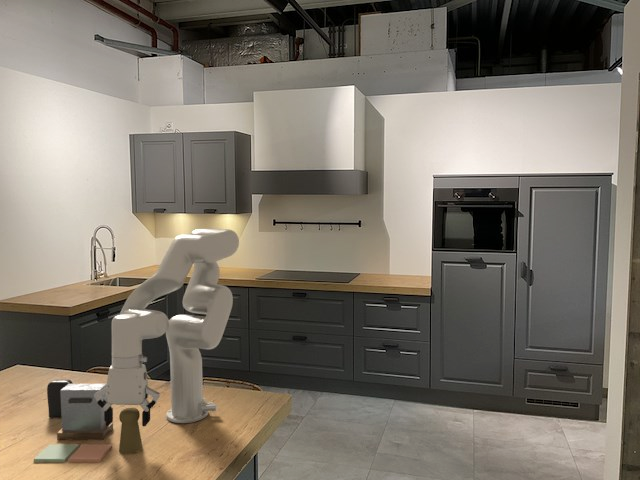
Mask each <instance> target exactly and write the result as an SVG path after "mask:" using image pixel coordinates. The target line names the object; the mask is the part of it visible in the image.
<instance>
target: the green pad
mask: <svg viewBox="0 0 640 480" xmlns="http://www.w3.org/2000/svg"><path fill="white" fill-rule="evenodd" d="M79 447H80V445H79V444H48V445H47V446H46V447H45V448H44V449H43V450H42V451H40V452H39V454H37V455H36V456H35V457H33V463H57V462H58V463H66V462H67V460H69V458H70V457H71V456H72V455H73V454H74V453H75V452H76V451H77V450H78V448H79Z"/></svg>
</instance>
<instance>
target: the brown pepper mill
mask: <svg viewBox="0 0 640 480" xmlns="http://www.w3.org/2000/svg"><path fill="white" fill-rule="evenodd" d="M118 419H119V421H120V423H121V426H120V435H119V437H120V438H119V447H118V451H119V453H120V454H121V455H132V454H133V455H134V454H136V453H139V452H140V451H141V450H142V449H143V441H142V437H141V432H140V426H139V419H140V410H139V409H138V408H135V407H128V408H124V409H122V410H121V411H120V413H119V418H118Z"/></svg>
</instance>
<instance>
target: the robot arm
mask: <svg viewBox="0 0 640 480" xmlns="http://www.w3.org/2000/svg"><path fill="white" fill-rule="evenodd" d="M239 239H240V238H239V236H238V233H236V232H235V231H234V230H232V229H228V228H225V229H224V228H197V229H195V230H192V231H191V232H190V234H188V233H187V234H186V233H185V234H180V235H177V236H175V237H174V239H173V240H172V242H171V244H170V245H169V247H168V249H167V251H166V253H165V255H164V257H163V259H162V260H161V262H160V264H159V266H158V268H157V270H156V272H155V273H154V274H153V275H152V276H150V277H149V278H147V279H146V280H145V281H143V282H142V283H141V284H139V285H138V286H137V287H135V289H133V291H132V292H131V293H130V294H129V295H128V297H127V299H126V300H125V302H124V304H123V305H122V308H121V311H120V312H119V314H118V315H115V316H114V317H113V318H112V320H111V365H110V367H109V368H108V369H109V370H108V373H107V381H106V384H107V387H106V388H104V389H102V390H100V391H98V392H96V393H95V394H94V397H95V399H96V401H97V403H98V405H99V406H100V407H101V408H102V410H103V411H104V421H105V422H106V426H109V425H110V424H111V423H112V422H113V423H114V408H113V407H112V405H115V406H116V405H117V406H118V405H119V406H122V405H123V406H132V405H133V406H134V405H135V406H137V405H139V406H140V407H141V408H142V410H143V411H142V413H141V416H142V417H141V425H142V427H147V425H148V424H149V422H150V421H151V408H153V407H154V406H155V405H156V404H157V403H158V400H159V398H160V397H161V393H160V392H158V391H157V390H155V389H152V388H151V387H149V381H148V372H147V367H146V365H145V363H147V362H148V356H144V355H143V351H142V350H143V340H146V339H147V340H149V339H154V338H155V339H156V338H159V337H162V336H163V335H165V337H166V340H167V341H166V342H167V345H168V351H169V365H170V366H169V367H170V369H169V370H170V403H171V404H170V405H171V408H170V409H168V410H167V412H166V415H165V417H166V419H167V420H168V421H169V422H171V423H175V424H189V423H190V424H191V423H194V422H199V421H201V420H203V419H205V418H207V416H208V415H209V411H210V412H217V410H218V406H217V404H215V402H212V401H211V402H208V401H206V397H203V386H204V385H203V358H202V354H201V351H200V349H201V350H213V349H215V348H217V346H219V344H220V342H221V340H222V338H223V335H224V332H225V329H226V327H227V325H228V324H227V323H228V320H229V317H230V314H231V311H232V308H233V303H234V301H233V300H234V299H233V298H234V297H233V293H232V291H231V289H230V288H229V287H228V286H227V285H226V286H225V285H222V284H218V282H219V279H220V275H221V273H220V266H219V264H218V262H219V261H221V260H223V259H226V258H227V259H228V258H229V257H232V256H233V255H234V254H235V253H236V252H237V251H238V248H239V246H240V240H239ZM192 267H193V270H192V273H191V276H190V279H189V282H188V283H187V286H186V289H185V291H184V294H183V298H182V307H183V309H185V310H186V311H187V312H188V313H192V314H197V315H192V314H177V315H175V316H172V317H171V318H170V319H169V318H168V317H169V316H167V314H165V313H164V312H162V311H159V310H154V309H148V308H147V307H148V306H149V304H151V303H152V302H153V301H155V300H156V299H158V298H160V297H162V296H165V295H168V294H171V293H172V292H175V291H177V290H180V289H181V288H182V287H183V285H184V283H185V282H186V279H187V277H188V275H189V273H190V271H191V269H192ZM146 308H147V309H146ZM198 314H200V316H199V315H198ZM202 315H205V316H202ZM143 363H144V364H143ZM105 393H106V400H107V402H106V401H105V400H104V399H103V398H102V395H103V394H105ZM149 396H151V397H152V399H151V401H149V400H148V398H149Z"/></svg>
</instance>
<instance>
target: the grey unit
mask: <svg viewBox="0 0 640 480" xmlns="http://www.w3.org/2000/svg"><path fill="white" fill-rule="evenodd" d="M106 387H107V383H73V384H68V385H66V386H65V387H64V388H62V389H61V390H60V394H61V416H62V418H61V429H59V430H58V431H57V432H56V439H57V441H83V440H84V441H93V440H94V441H99V440H100V441H101V440H103V441H104V440H105V439H106V438H107V436H109V434H110V433H111V432H112V431H113V429H114V421H113V422H112V423H111V424H110V425H109V426H106V422H105V421H104V411H103V410H102V408H101V407H100V406H99V405H98V403H97V401H96V399H95V397H94V394H95V393H96V392H98V391H100V390H102V389H104V388H106ZM102 398H103V399H104V400H105V401H106V402H107V400H106V393H105V394H103V395H102Z"/></svg>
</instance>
